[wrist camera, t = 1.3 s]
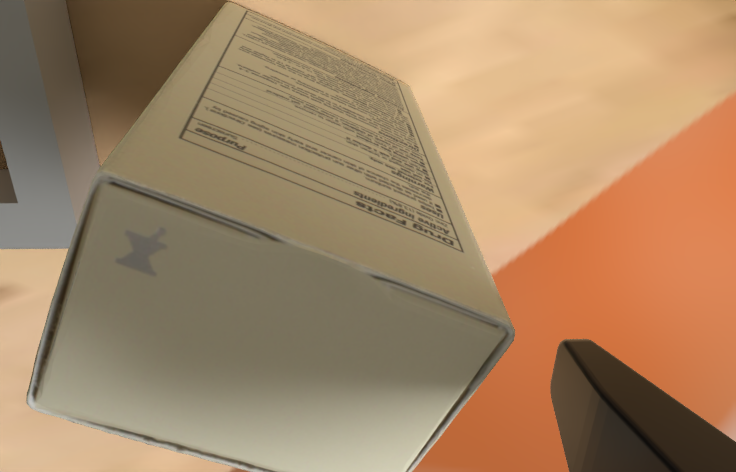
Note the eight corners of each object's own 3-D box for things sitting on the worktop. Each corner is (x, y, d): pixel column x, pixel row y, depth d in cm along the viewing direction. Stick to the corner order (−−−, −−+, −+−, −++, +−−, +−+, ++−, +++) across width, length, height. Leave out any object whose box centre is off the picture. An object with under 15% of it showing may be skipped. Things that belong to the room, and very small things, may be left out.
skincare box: (178, 126, 20) (-9, 409, 9) (227, -7, 18) (63, 153, 7) (363, 204, 21) (388, 524, 11) (425, 89, 20) (528, 337, 9)
